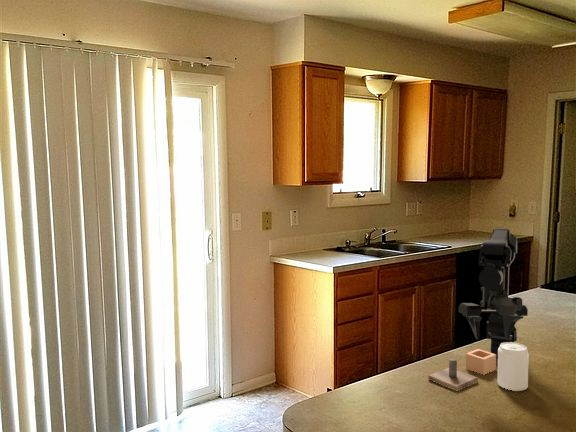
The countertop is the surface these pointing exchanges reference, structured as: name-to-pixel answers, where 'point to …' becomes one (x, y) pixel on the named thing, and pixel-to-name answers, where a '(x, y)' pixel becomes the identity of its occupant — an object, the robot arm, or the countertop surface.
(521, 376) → the beverage can
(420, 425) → the countertop surface
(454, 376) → the post stand
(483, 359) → the collar
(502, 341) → the robot arm
